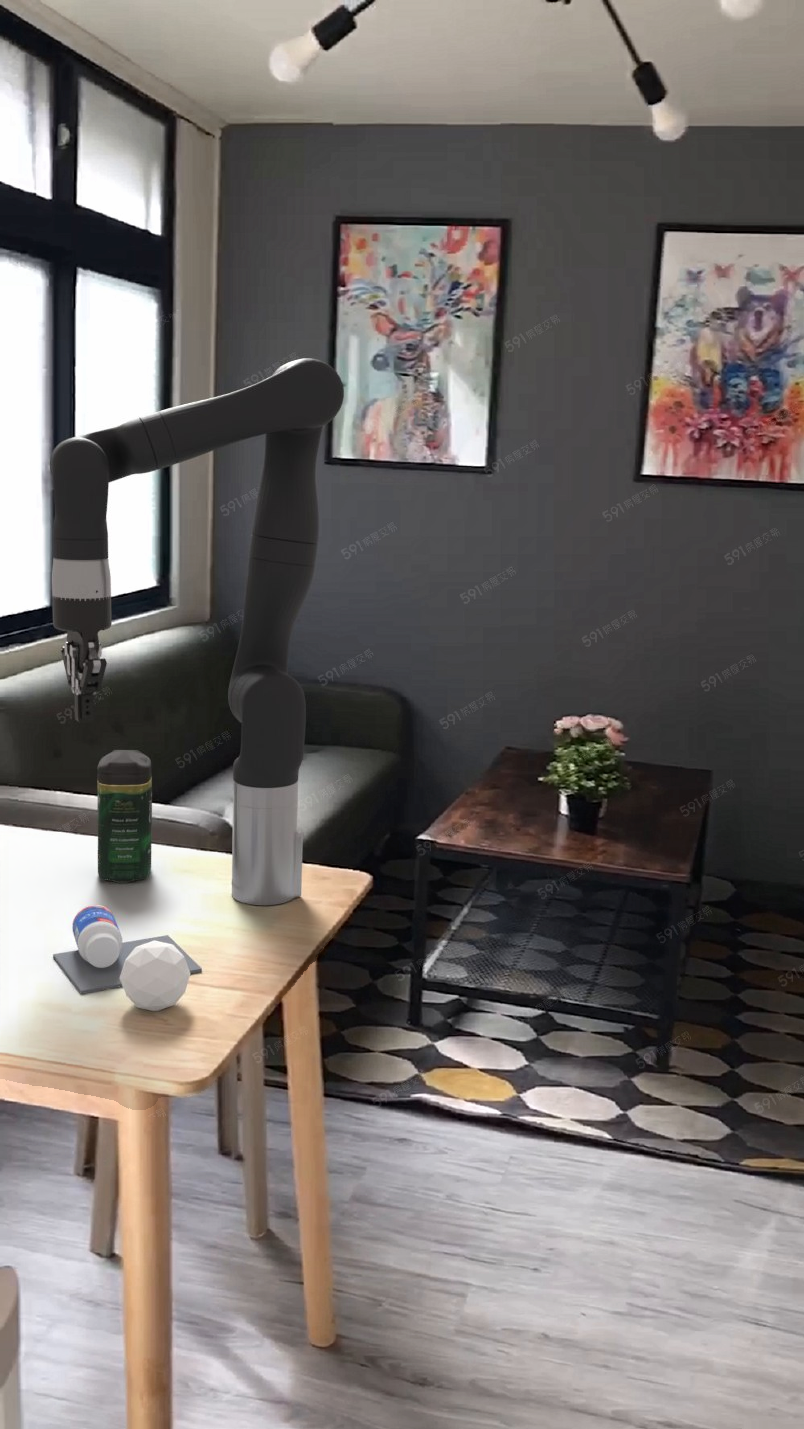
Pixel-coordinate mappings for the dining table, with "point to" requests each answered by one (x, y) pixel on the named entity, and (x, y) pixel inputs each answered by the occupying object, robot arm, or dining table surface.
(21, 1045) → the dining table surface
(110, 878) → the coffee jar
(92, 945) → the pill bottle
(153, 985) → the geometric ball
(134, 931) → the dining table surface
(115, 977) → the mat
